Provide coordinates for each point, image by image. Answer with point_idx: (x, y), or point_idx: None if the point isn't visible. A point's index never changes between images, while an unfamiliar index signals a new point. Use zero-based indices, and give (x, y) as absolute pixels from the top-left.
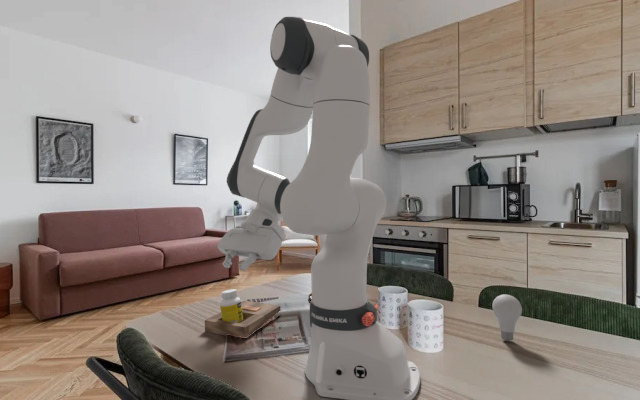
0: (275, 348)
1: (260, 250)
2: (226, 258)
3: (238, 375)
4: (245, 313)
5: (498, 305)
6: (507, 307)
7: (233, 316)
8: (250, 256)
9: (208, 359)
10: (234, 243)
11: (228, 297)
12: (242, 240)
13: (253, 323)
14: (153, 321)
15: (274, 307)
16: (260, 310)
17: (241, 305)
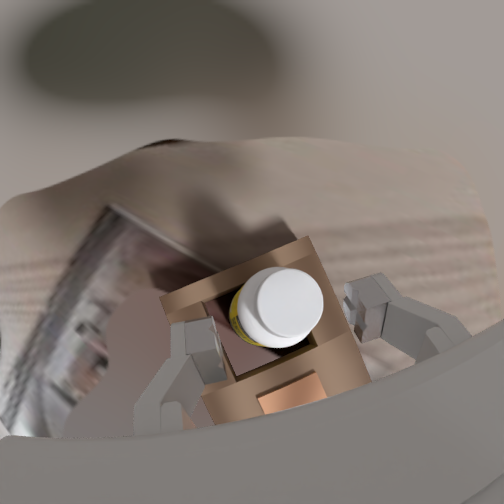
0: (75, 321)
1: (33, 447)
2: (399, 302)
3: (53, 203)
4: (274, 366)
5: None
6: None
7: (234, 298)
8: (143, 405)
9: (144, 185)
10: (475, 399)
11: (259, 284)
12: (415, 489)
13: None
14: (444, 183)
15: None
16: (254, 414)
17: (349, 389)
